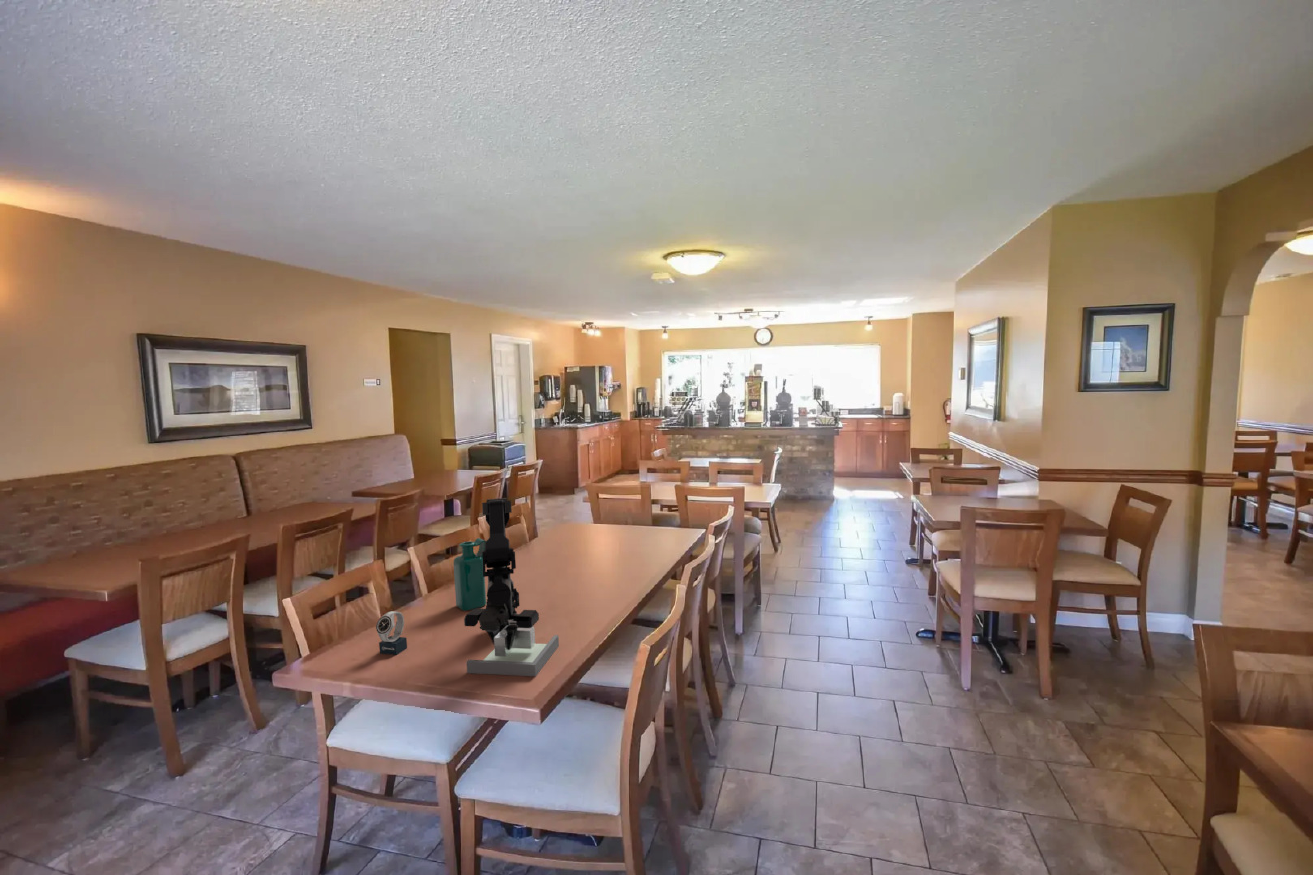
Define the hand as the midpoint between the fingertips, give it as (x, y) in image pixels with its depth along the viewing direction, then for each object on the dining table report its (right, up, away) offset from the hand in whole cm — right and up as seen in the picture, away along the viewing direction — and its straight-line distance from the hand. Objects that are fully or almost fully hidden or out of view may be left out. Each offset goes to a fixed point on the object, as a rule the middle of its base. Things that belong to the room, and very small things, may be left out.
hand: (503, 649), depth 150 cm
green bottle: (-22, -1, +42) cm, 48 cm away
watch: (-33, -4, +9) cm, 35 cm away
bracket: (+3, -1, +2) cm, 3 cm away
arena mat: (+3, -3, +2) cm, 4 cm away
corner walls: (+3, -3, +2) cm, 4 cm away
